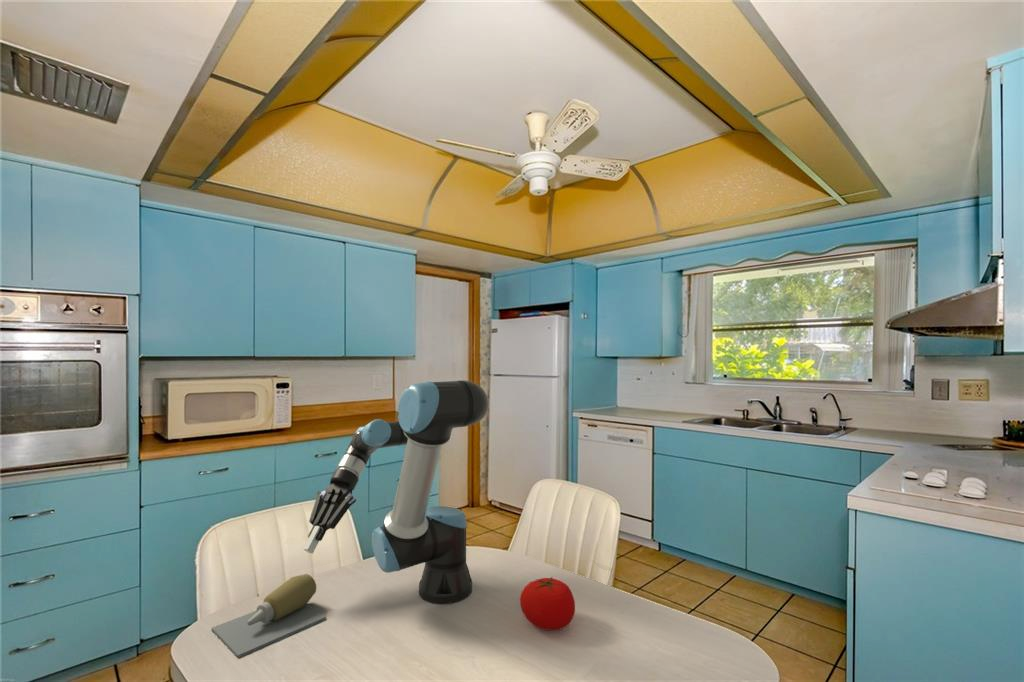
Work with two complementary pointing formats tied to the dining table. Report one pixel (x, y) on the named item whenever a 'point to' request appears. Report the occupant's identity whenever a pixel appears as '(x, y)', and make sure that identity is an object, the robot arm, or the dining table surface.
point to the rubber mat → (263, 630)
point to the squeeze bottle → (285, 599)
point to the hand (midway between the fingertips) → (308, 551)
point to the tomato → (548, 603)
